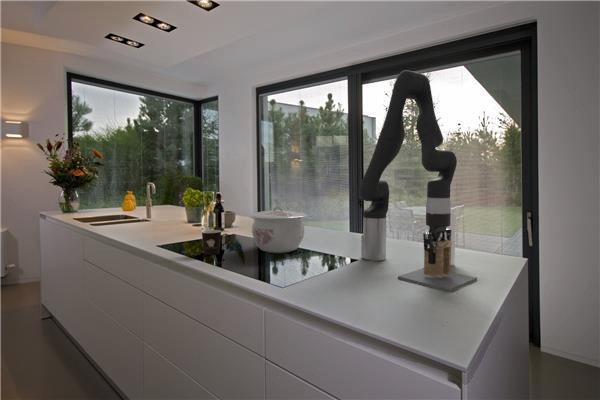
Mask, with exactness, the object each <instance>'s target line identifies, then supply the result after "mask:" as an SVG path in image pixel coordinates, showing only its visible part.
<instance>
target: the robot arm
mask: <svg viewBox="0 0 600 400" xmlns="http://www.w3.org/2000/svg"><path fill="white" fill-rule="evenodd" d="M392 88H393V89H392V93H391V96H390V101H389V105H388V109H387V111H386V115H385V118H384V122H383V125H382V128H381V130H380V132H379V135H378V139H377V142H376V146H375V148H374V150H373V151H374V152H373V154H372V157H371V160H370V162H369V165H368V167H367V169H366V171H365V173H364V176H363V178H362V180H361V183H360V185H359V192H358V193H359V196H360V198H361V200H362V201H365V202H371V203H370V205H369V206H368V207H367V208H366V209H364V210H363V217H362V218H363V220H362V221H363V228H362V229H363V232H362V233H363V234H362V235H361V240H360V241H361V246H360V249H361V250H360V251H361V255H360V256H361V258H363V259H364V260H367V261H373V262H376V261H377V262H378V261H385V260H386V259H387V213H388V211H389V203H390V186H389V184H388V181H387V180H386V179H384V178H382V175H383V173H384V171H385V170H386V169H387V167H388V166H390V164H391V163H392V162H393V161H394V159H396V157H397V156H398V154H399V153H400V151H401V148H402V146H403V143H404V141H405V136H406V130H405V129H406V128H405V124H404V123H405V122H404V116H403V115H404V109H405V104H406V102H407V100H412V101H414V103H416V106H417V109H418V115H417V117H416V118H417V119H416V122H415V123H416V124H415V127H416V132H417V135H418V138H419V141H420V144H421V146H420V147H421V149H420V151H421V164H422V167H423V169H424V170H426V171H427V172H430V173H438V174H437V177H436V178H434V179H433V178H432V179H430V180H428V182H427V186H426V187H427V189H426V203H425V225H426V227H427V226H428V227H429V228H428V232H423V234H422V236H423V237H422V238H423V240H422V241H423V251H424V250H425V251H427V252H428V263H429V264H435V263H436V253H435V252H436V246H437V245H438V242H440V241H443V240H444V241H446V240H450V241H451V229H446V227H449V226H450V220H451V214H452V213H451V211H452V208H451V207H452V203H451V186H452V182H453V178H454V176H455V172H456V168H457V164H458V163H457V162H458V160H457V156H456V154H455V153H454V151H452V150H449V149H437V147H439V146H441V145H443V142H444V136H443V133H442V130H441V127H440V125H439V123H438V120H437V116H436V113H435V105H434V100H433V95H432V88H431V84H430V80H429V78H428V77H427V75H425V74H423V73H419V72H416V71H411V70H408V69H407V70H406V69H405V70H402V71H401V72H400V73H399V74H398V75H397V77H396V79H395V82H394V84H393V87H392ZM433 241H434V242H436V243H433ZM427 244H428V247H427ZM433 245H434V247H433Z"/></svg>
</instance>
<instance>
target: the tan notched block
mask: <svg viewBox="0 0 600 400" xmlns="http://www.w3.org/2000/svg"><path fill="white" fill-rule="evenodd" d="M433 243H436V242H434V241H433ZM451 246H452V241H450V240H446V241H444V240H443V241H440V242H438V245H437V246H436V252H435V253H436V263H435V264H429V263H428V252H427V251H425V250H424V249H423V251H424V254H423V255H424V256H423V257H424V258H423V259H424V260H423V268H424V274H426V275H430V276H434V277H438V278H443V274H445V275H450V272H451V266H452V265H451ZM427 247H428V244H427ZM433 247H434V245H433Z"/></svg>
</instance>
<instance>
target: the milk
mask: <svg viewBox="0 0 600 400" xmlns="http://www.w3.org/2000/svg"><path fill="white" fill-rule="evenodd" d="M456 219H457V218H456V216H455V215H454V214H452V213H451V220H450V226H449V227H446V229H451V241H452V246H451V266H455V261H456V260H455V259H456V257H455V255H456V253H455V252H456Z"/></svg>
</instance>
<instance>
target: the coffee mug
mask: <svg viewBox="0 0 600 400" xmlns="http://www.w3.org/2000/svg"><path fill="white" fill-rule="evenodd" d="M224 236H227V237H228V239H227V241H225V242H224V243H223V244H221V241H222V240H221V239H222V238H223V237H224ZM201 237H202V238H201V239H202V244H203V245H202V246H203V252H204V255H206V256H214V255H215V256H216V255H219V254H220V249H221V248H222V247H223V246H225V245H226V244H227V243H228V242H229V241H230V239H231V237H230V235H229V234H228V233H223V234H222V230H219V229H209V230H208V229H207V230H202V231H201Z"/></svg>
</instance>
